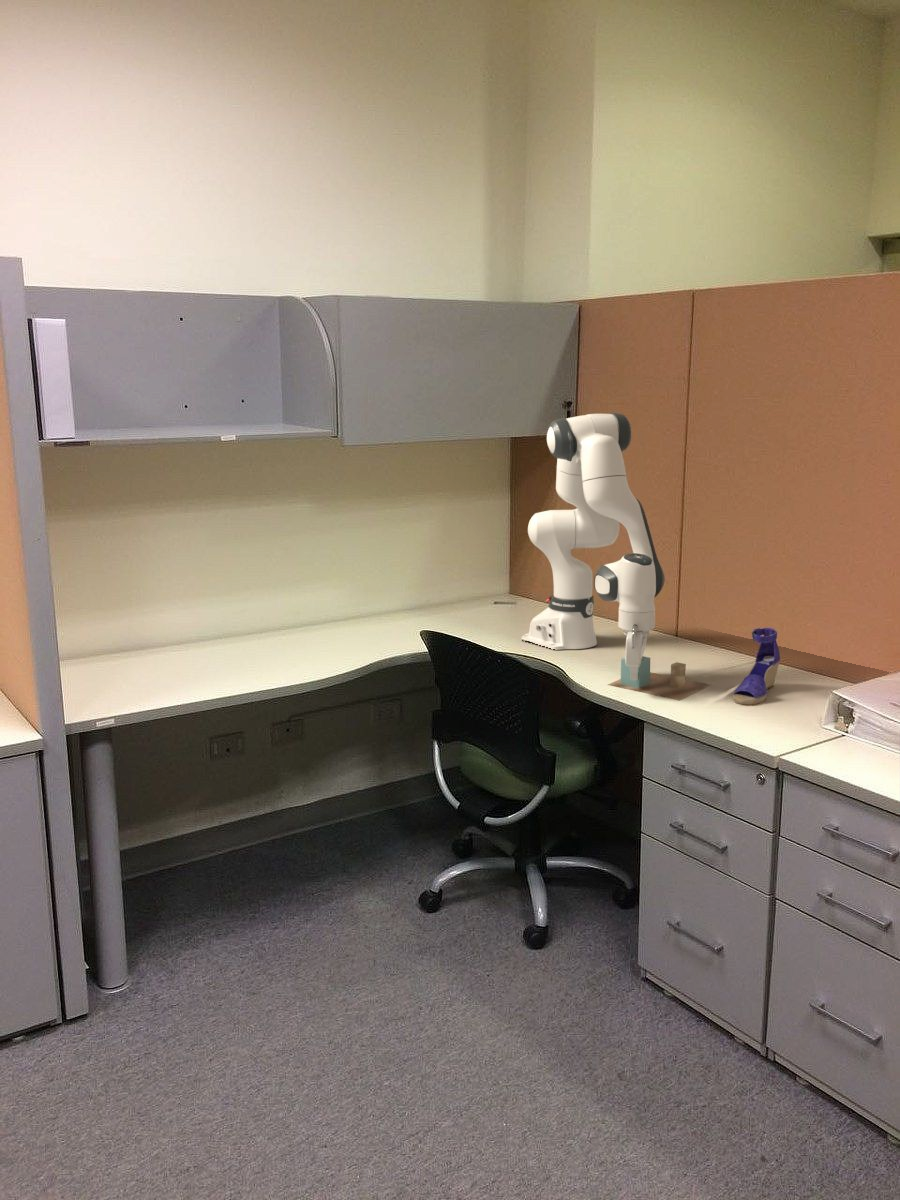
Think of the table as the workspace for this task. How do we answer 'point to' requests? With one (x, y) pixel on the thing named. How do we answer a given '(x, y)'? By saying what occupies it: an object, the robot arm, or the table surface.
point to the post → (678, 674)
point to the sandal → (760, 669)
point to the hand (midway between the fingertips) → (635, 674)
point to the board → (665, 687)
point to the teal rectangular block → (642, 674)
